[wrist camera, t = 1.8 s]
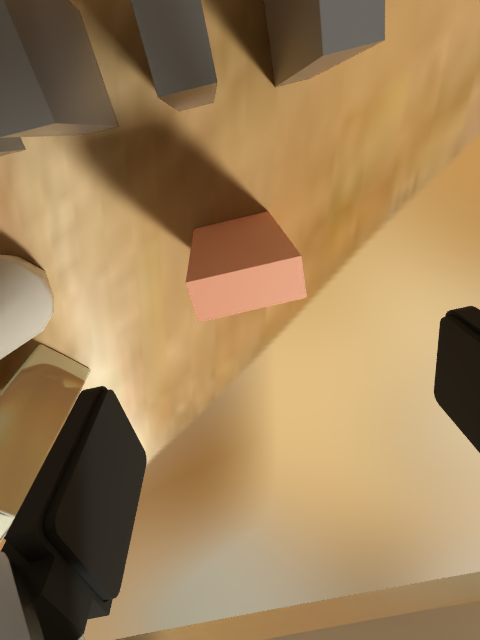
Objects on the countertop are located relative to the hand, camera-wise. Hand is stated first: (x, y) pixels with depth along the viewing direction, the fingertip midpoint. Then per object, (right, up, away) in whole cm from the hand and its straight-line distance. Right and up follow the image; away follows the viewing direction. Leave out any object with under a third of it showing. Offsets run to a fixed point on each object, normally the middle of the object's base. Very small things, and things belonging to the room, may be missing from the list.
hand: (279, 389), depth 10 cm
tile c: (-9, +15, +8) cm, 19 cm away
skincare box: (-16, -3, +18) cm, 24 cm away
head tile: (-2, +8, +13) cm, 15 cm away
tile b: (-4, +16, +8) cm, 18 cm away
